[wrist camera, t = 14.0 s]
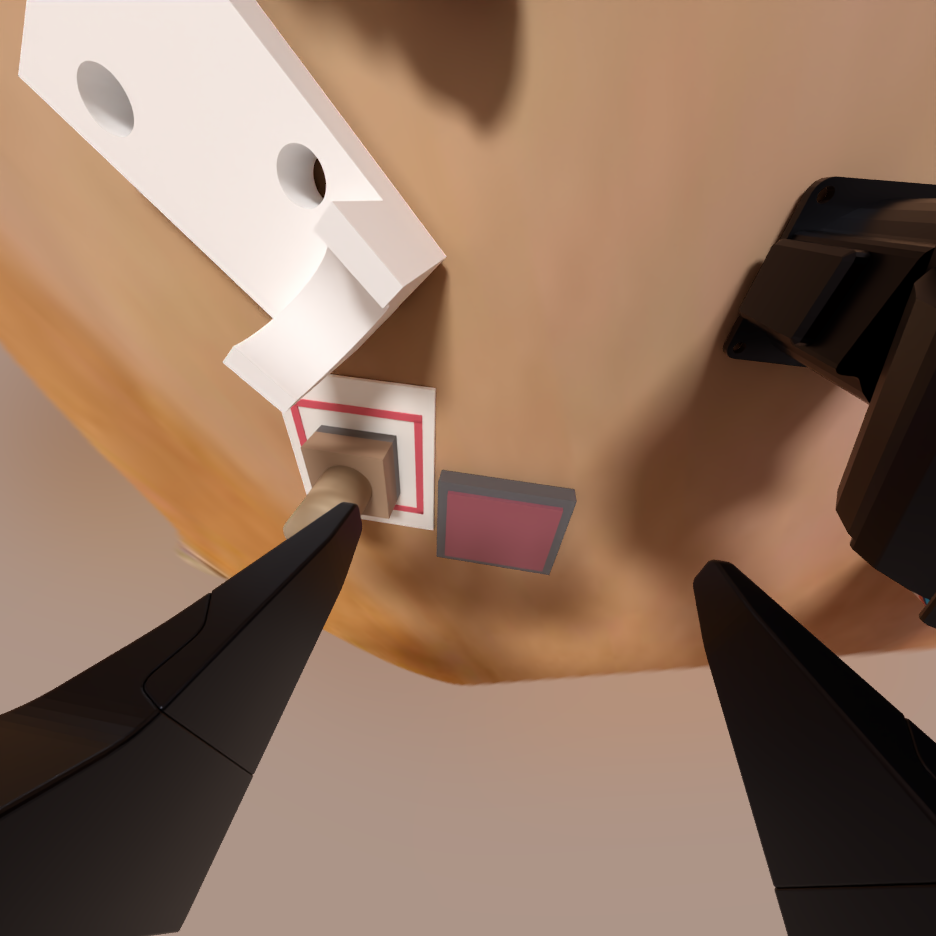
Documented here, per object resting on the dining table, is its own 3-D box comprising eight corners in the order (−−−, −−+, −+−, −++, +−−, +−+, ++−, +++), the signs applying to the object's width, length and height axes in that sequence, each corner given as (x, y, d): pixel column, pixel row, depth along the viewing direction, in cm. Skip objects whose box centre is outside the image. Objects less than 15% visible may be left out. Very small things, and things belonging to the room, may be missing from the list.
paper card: (435, 388, 20) (434, 391, 20) (433, 527, 27) (432, 531, 27) (271, 366, 21) (267, 369, 20) (313, 508, 28) (311, 511, 28)
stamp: (396, 435, 22) (352, 513, 17) (400, 493, 25) (364, 575, 20) (321, 424, 22) (253, 498, 17) (334, 483, 25) (280, 560, 20)
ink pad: (574, 489, 23) (576, 504, 22) (548, 562, 28) (549, 578, 27) (441, 469, 24) (437, 484, 22) (439, 544, 29) (435, 559, 27)
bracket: (450, 254, 16) (403, 286, 10) (359, 348, 19) (283, 413, 14) (175, -119, 11) (-252, -500, 5) (117, 99, 14) (-174, 30, 8)
